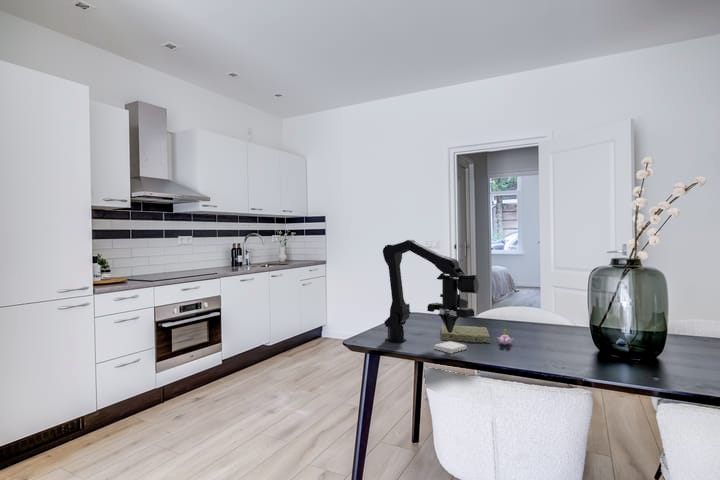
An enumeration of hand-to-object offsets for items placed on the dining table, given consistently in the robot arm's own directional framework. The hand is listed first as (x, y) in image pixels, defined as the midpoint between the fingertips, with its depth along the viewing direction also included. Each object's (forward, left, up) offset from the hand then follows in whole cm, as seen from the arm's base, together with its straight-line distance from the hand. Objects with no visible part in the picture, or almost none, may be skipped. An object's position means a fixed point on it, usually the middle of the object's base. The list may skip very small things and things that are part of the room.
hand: (450, 332), depth 157 cm
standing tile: (-4, 0, -6) cm, 7 cm away
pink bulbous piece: (+9, +23, -7) cm, 25 cm away
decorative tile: (-9, +20, -7) cm, 23 cm away
